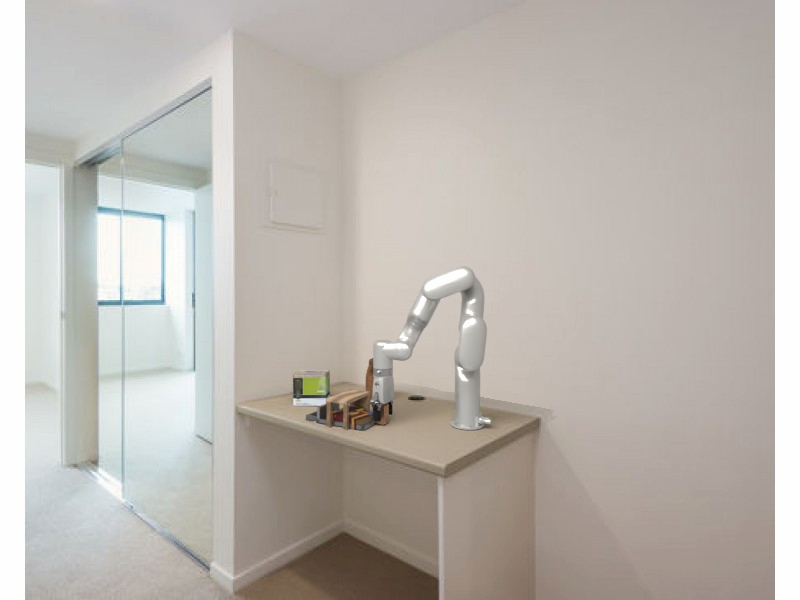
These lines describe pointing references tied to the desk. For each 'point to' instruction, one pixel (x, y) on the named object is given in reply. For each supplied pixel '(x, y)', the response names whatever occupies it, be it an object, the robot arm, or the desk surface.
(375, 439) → the desk surface
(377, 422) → the tray
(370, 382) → the block
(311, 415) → the gray frame
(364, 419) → the decorative book
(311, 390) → the tea box
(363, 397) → the wooden arch stand
